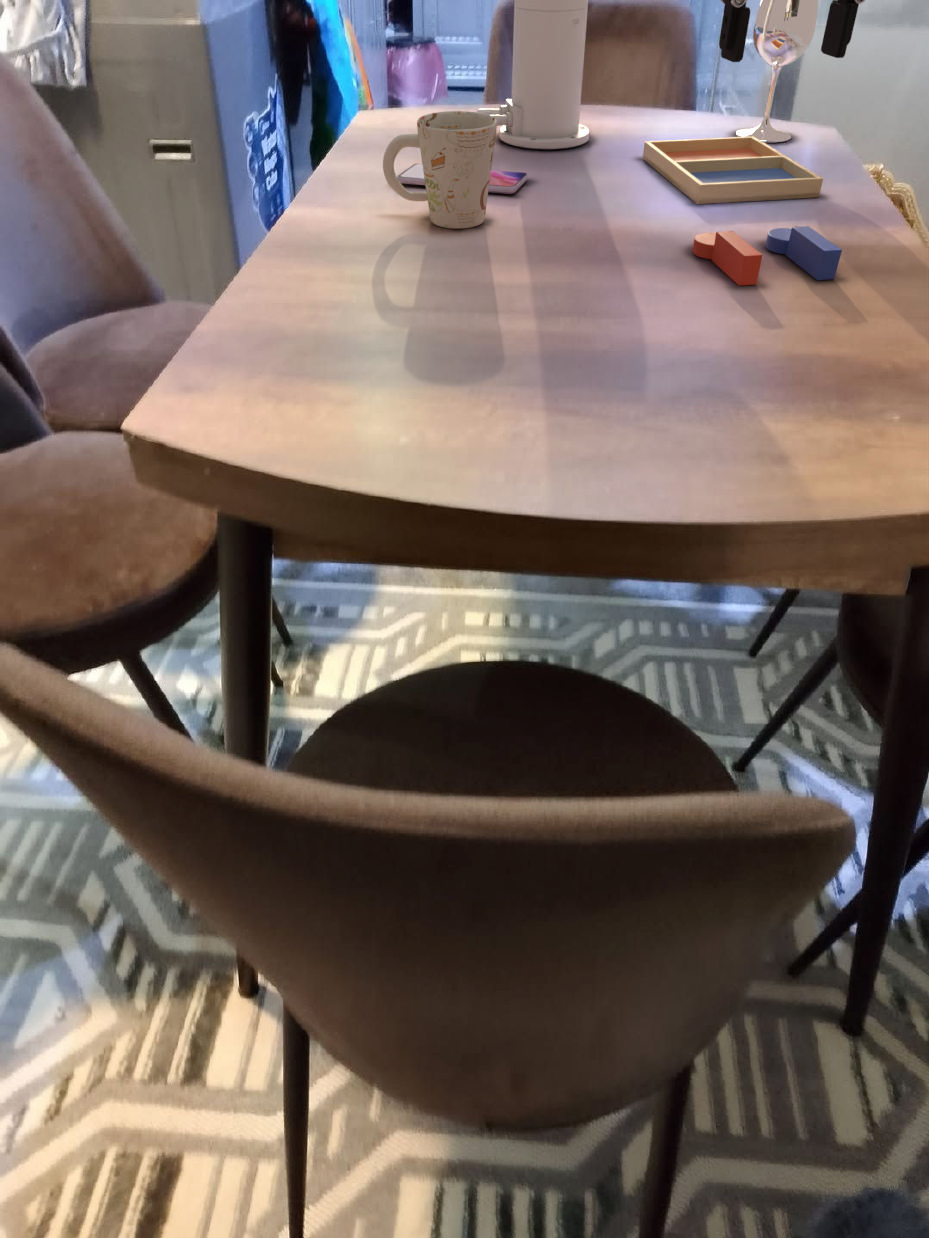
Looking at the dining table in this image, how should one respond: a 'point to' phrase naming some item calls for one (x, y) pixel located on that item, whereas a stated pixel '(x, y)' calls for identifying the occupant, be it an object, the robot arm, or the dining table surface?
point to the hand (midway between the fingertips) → (781, 57)
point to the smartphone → (498, 182)
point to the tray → (730, 170)
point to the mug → (449, 165)
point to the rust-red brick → (730, 255)
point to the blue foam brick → (806, 250)
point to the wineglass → (780, 49)
